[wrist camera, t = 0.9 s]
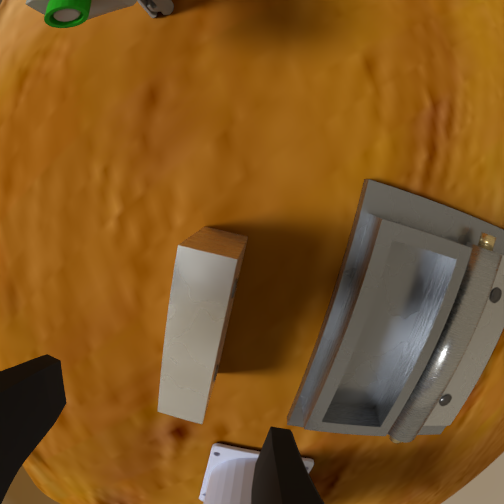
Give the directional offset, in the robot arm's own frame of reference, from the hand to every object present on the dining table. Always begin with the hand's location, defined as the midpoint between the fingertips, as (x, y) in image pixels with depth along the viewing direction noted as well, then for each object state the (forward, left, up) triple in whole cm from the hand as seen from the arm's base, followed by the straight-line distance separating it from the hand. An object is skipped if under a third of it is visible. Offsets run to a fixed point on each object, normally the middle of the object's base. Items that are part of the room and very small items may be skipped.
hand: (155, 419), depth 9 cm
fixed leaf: (+1, -13, -10) cm, 16 cm away
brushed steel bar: (0, 0, -10) cm, 10 cm away
